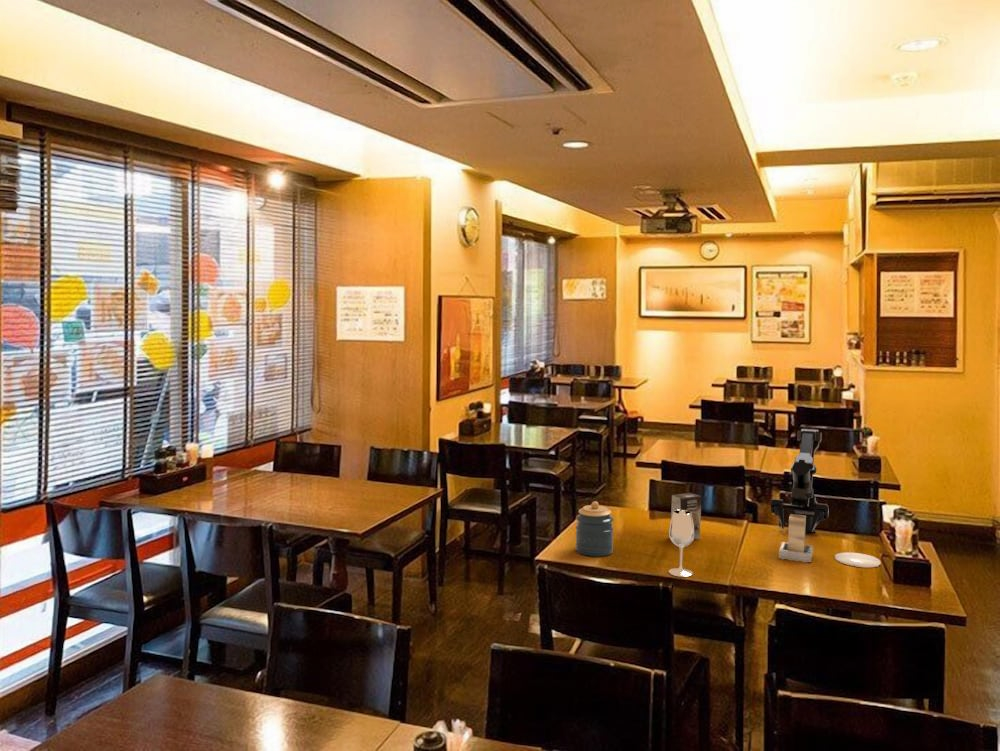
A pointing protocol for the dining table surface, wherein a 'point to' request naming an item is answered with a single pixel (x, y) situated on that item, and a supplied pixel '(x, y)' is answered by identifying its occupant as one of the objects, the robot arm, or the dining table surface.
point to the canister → (594, 530)
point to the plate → (857, 560)
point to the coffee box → (689, 508)
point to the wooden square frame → (795, 553)
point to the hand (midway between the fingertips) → (797, 529)
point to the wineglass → (681, 537)
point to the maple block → (796, 533)
